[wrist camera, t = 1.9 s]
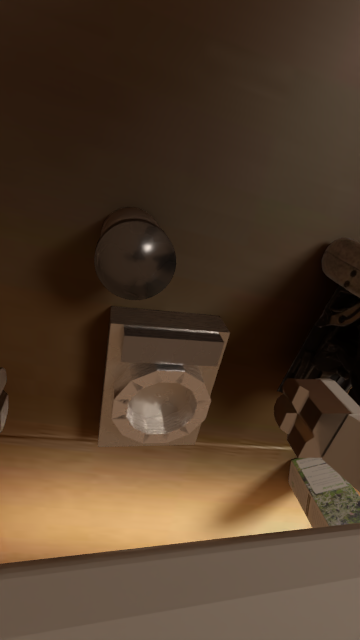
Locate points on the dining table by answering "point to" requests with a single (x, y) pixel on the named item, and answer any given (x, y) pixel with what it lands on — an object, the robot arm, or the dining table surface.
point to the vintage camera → (335, 325)
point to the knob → (134, 255)
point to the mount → (158, 376)
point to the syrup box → (323, 493)
